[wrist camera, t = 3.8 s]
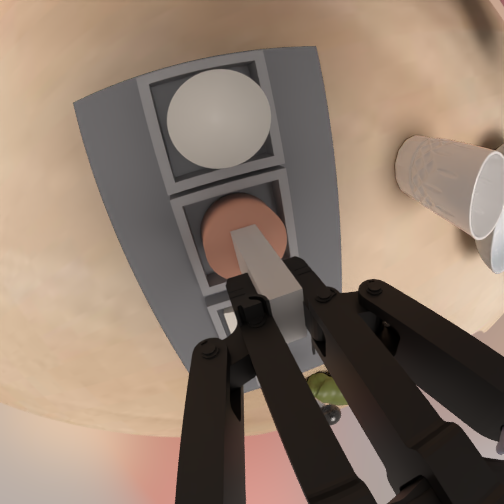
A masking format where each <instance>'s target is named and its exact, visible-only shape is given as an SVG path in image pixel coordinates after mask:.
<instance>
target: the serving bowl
mask: <svg viewBox="0 0 504 504" xmlns="http://www.w3.org/2000/svg"><path fill="white" fill-rule="evenodd" d="M496 151H499V152H500V153H501V154H502V155H503V156H504V144H503V145H501V146H500V147H499V148H498V149H497V150H496ZM475 243H476V246H477V250H478V252H479V254H480V256H481V258H482V260H483V261H484V263H485V264H486V265H487V266H488V267H489V268H490V269H491V270H492V271H493V272H494V273H496V274H499V273H502V272H503V271H504V209H503V212H502V214H501V217H500V219H499V221H498V223H497V225H496V226H495V228H494V229H493V231H492V232H491V233H490V234H489V235H488V236H487V237H486V238H484V239H482V240H476V239H475Z"/></svg>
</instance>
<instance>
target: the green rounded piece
mask: <svg viewBox="0 0 504 504" xmlns="http://www.w3.org/2000/svg"><path fill="white" fill-rule="evenodd" d="M307 383H308V385H309V387H310V389H311V391H312V393H313V395H314V397H315V398H317V399H318V400H320V401H321V402H322V403H329V404H333V405H348V403H347V402H346V400H345V398H344V397H343V395H342V393H341V391H340V390H339V388H338V386H337V385H336V383H335V381H334V380H333V378H332V377H329V376H327V375H326V374H324V373H317V374H312V375H311V376H310V377H309V379H308V381H307Z"/></svg>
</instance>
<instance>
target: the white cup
mask: <svg viewBox="0 0 504 504" xmlns="http://www.w3.org/2000/svg"><path fill="white" fill-rule="evenodd" d="M395 176H396V180H397V183H398V185H399V188H400V190H401V191H403V192H404V193H405V194H406V195H407V196H409V197H411V198H413V199H414V200H416V201H418V202H420V204H422V205H423V206H425V207H426V208H428V209H430V210H431V211H433V212H434V213H436V214H437V215H439V216H441V217H442V218H444V219H445V220H447V221H449V222H450V223H452V224H453V225H455V226H457V227H458V228H460V229H461V230H463V231H464V232H466V233H467V234H469V235H470V236H471V237H473V238H474V239H476V240H482V239H484V238H486V237H487V236H488V235H489V234H490V233H491V232H492V231H493V229H494V228H495V226H496V225H497V223H498V221H499V219H500V217H501V214H502V212H503V209H504V156H503V155H502V154H501V153H500V152H499V151H495V150H492V149H488V148H484V147H480V146H476V145H472V144H468V143H464V142H459V141H455V140H449V139H442V138H430V137H425V136H419V135H415V136H413V137H410V138H408V139H406V141H405V142H404V143H403V145H402V146H401V148H400V149H399V151H398V155H397V159H396V162H395Z"/></svg>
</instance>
